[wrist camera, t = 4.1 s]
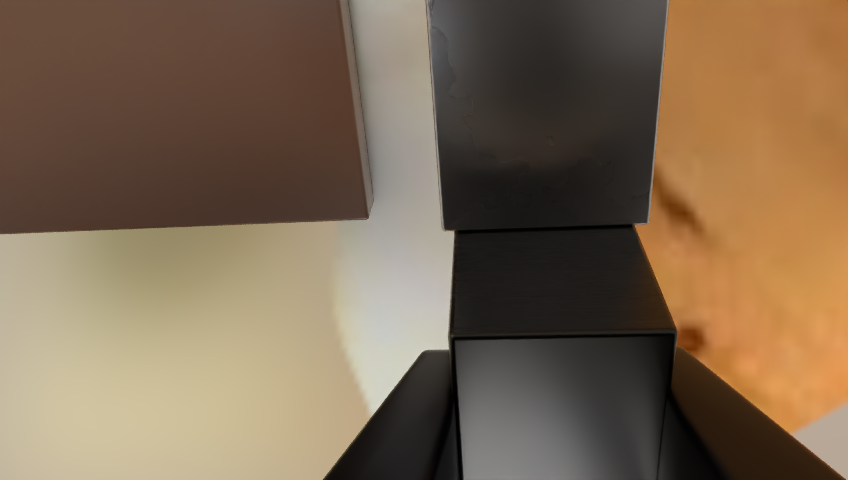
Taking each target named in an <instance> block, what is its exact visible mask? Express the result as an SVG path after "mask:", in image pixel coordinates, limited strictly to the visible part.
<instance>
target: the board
mask: <svg viewBox="0 0 848 480" xmlns="http://www.w3.org/2000/svg"><path fill="white" fill-rule="evenodd" d="M373 201H374V200H373V193H372V185H371V177H370V169H369V161H368V153H367V146H366V138H365V130H364V122H363V114H362V107H361V99H360V91H359V83H358V75H357V67H356V60H355V52H354V44H353V36H352V28H351V21H350V13H349V5H348V0H0V234H17V233H43V232H64V231H65V232H68V231H92V230H118V229H140V228H141V229H142V228H166V227H192V226H217V225H242V224H267V223H292V222H316V221H342V220H366V219H368V218H369V215H370V211H371V208H372V204H373Z"/></svg>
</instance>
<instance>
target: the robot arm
mask: <svg viewBox="0 0 848 480" xmlns="http://www.w3.org/2000/svg"><path fill="white" fill-rule="evenodd" d="M323 480H460V474H459V460H458V446H457V431H456V417H455V402H454V397H453V395H452V383H451V369H450V355H449V350H425V351H424V352H422V353H421V354H420V356H419V357H418V358H417V359H416V361H415V362H414V363H413V365H412V366H411V367H410V368H409V370H408V371H407V372H406V373H405V375H404V376H403V377H402V379H401V380H400V381H399V382H398V384H397V385H396V386H395V388H394V389H393V390H392V391H391V393H390V394H389V395H388V397H387V398H386V399H385V400H384V402H383V403H382V404H381V406H380V407H379V408H378V409H377V411H376V412H375V413H374V415H373V416H372V417H371V418H370V420H369V421H368V422H367V424H366V425H365V426H364V428H363V429H362V430H361V431H360V433H359V434H358V435H357V436H356V438H355V439H354V440H353V442H352V443H351V444H350V445H349V447H348V448H347V449H346V451H345V452H344V453H343V455H342V456H341V457H340V458H339V460H338V461H337V462H336V463H335V465H334V466H333V467H332V469H331V470H330V471H329V472H328V474H327V475H326V476H325V478H324V479H323ZM657 480H846V479H845V478H843V477H842V476H841V475H840V474H838V473H837V472H836V471H835V470H834V469H832V468H831V467H830V466H829V465H827V464H826V463H825V462H824V461H822V460H821V459H820V458H819V457H817V456H816V455H815V454H814V453H813V452H811V451H810V450H809V449H807V448H806V447H805V446H804V445H803V444H801V443H800V442H799V441H798V440H796V439H795V438H794V437H793V436H792V435H790V434H789V433H788V432H787V431H785V430H784V429H783V428H782V427H780V426H779V425H778V424H777V423H775V422H774V421H773V420H772V419H771V418H769V417H768V416H767V415H766V414H764V413H763V412H762V411H761V410H759V409H758V408H757V407H756V406H754V405H753V404H752V403H751V402H750V401H748V400H747V399H746V398H745V397H743V396H742V395H741V394H740V393H738V392H737V391H736V390H735V389H733V388H732V387H731V386H730V385H729V384H727V383H726V382H725V381H724V380H722V379H721V378H720V377H719V376H717V375H716V374H715V373H714V372H712V371H711V370H710V369H709V368H707V367H706V366H705V365H704V364H703V363H701V362H700V361H699V360H698V359H696V358H695V357H694V356H693V355H691V354H690V353H689V352H688V351H686V350H685V349H684V348H682V347H680V346H676V353H675V361H674V369H673V377H672V385H671V392H670V394H669V395H668V397H667V402H666V410H665V418H664V426H663V434H662V443H661V451H660V459H659V467H658V476H657Z"/></svg>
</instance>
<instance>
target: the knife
mask: <svg viewBox="0 0 848 480" xmlns="http://www.w3.org/2000/svg"><path fill="white" fill-rule="evenodd" d="M668 9H669V0H426V13H427V27H428V41H429V55H430V69H431V84H432V98H433V112H434V126H435V140H436V154H437V168H438V182H439V196H440V210H441V225H442V230H443V231H455V233H454V250H453V266H452V282H451V299H450V315H449V332H448V341H449V355H450V369H451V383H452V395H453V397H454V402H455V417H456V431H457V446H458V460H459V474H460V480H657V476H658V467H659V459H660V451H661V443H662V434H663V426H664V418H665V410H666V402H667V397H668V395H669V394H670V392H671V385H672V377H673V369H674V361H675V353H676V345H677V337H678V331H677V329H676V326H675V324H674V321H673V319H672V316H671V314H670V312H669V309H668V307H667V304H666V302H665V299H664V297H663V294H662V292H661V290H660V287H659V285H658V282H657V280H656V277H655V275H654V272H653V270H652V267H651V265H650V263H649V260H648V258H647V255H646V253H645V250H644V248H643V245H642V243H641V241H640V238H639V236H638V233H637V231H636V228H635V226H634V225H643V224H648V223H649V220H650V209H651V198H652V187H653V176H654V164H655V153H656V142H657V131H658V120H659V109H660V98H661V87H662V76H663V65H664V53H665V42H666V31H667V20H668Z"/></svg>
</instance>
